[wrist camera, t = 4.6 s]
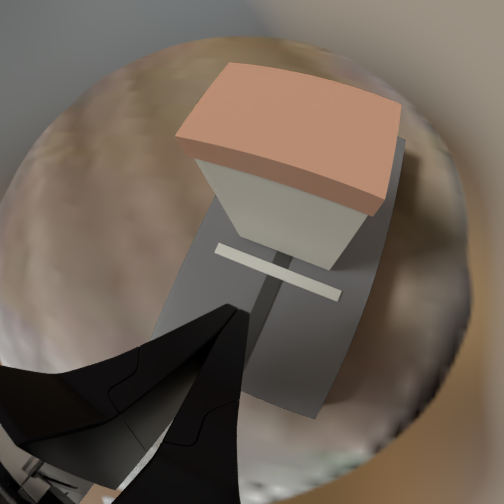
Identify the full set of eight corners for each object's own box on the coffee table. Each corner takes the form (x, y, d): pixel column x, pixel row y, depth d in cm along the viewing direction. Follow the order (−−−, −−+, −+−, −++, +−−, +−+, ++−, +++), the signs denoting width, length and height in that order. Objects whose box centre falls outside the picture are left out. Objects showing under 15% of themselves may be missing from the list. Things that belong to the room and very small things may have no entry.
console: (312, 408, 14) (315, 419, 12) (164, 340, 16) (148, 342, 14) (397, 155, 17) (406, 138, 15) (271, 114, 19) (269, 95, 17)
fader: (330, 273, 14) (384, 199, 5) (237, 237, 15) (174, 135, 6) (348, 218, 14) (401, 104, 6) (260, 186, 15) (229, 62, 7)
